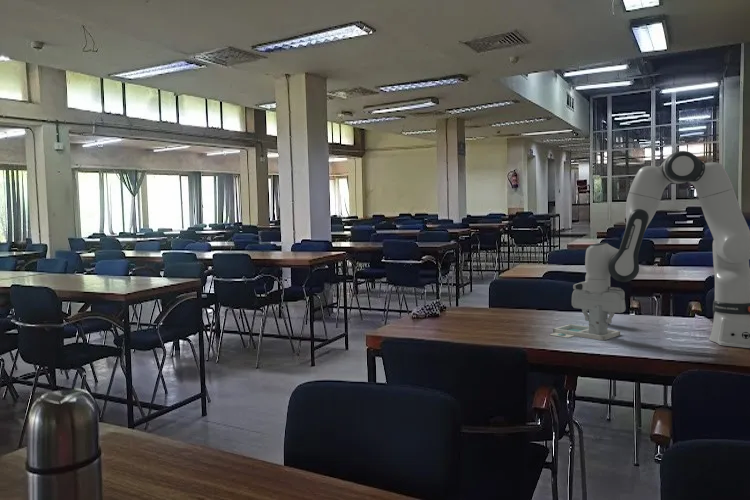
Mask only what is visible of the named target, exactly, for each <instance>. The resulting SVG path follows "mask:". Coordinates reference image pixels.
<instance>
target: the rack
mask: <svg viewBox="0 0 750 500" xmlns="http://www.w3.org/2000/svg"><path fill="white" fill-rule="evenodd" d="M549 336H553V337H559V338H567V339H570V338H573V337H578V338H585V339H591V340H592V339H593V340H599V341H606V340H609V339H612V338H615V337H618V336H621V330H617V329H616V330H614V329H608V328H607V334H605V335H596V334H589V326H586V325H580V324H572V323H570V324H566V325H561V326H558V327H554V328H552V333H550V334H549Z"/></svg>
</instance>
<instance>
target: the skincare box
mask: <svg viewBox="0 0 750 500" xmlns="http://www.w3.org/2000/svg"><path fill="white" fill-rule="evenodd" d="M588 315H589V321H588V327H589V334H596V335H605V334H607V329H608V325H609V324H607V323H606V319H607V318H608V317H609V315H608V312H606V311H602V305H594V310H588Z"/></svg>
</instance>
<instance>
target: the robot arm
mask: <svg viewBox="0 0 750 500" xmlns="http://www.w3.org/2000/svg"><path fill="white" fill-rule="evenodd" d="M685 183H689V184H691V185H692V186H693V187H694V189H695V191H696V193H697V197H698V201H699V204H700V206H701V210H702V213H703V216H704V220H705V221H706V224H707V226H708V228H709V230H710V233H711V236H712V238H713V240H712V262H713V263H712V265H713V274H714V299H713V302H712V316H713V322H712V329H711V332H710V335H709V338H708V340H709V341H711V342H714V343H717V345H720V346H725V347H734V348H744V349H750V227H749V226H748V225H749V224H748V223H747V221H746V218H745V216H744V215H743V212H742V210H741V206H740V204H739V201H738V199H737V198H738V197H737V195H736V192H735V189H734V185H733V182H732V181H731V179H730V176H729V175H728V172H727V171H726V169H725V168H724V166H723V165H722V164H721V163H719V162H717V161H716V162H714V161H713V162H706V163H705V162H703V161H702V160H701V159H700V158H699V157H698V156H696V154H693V153H692V152H689V151H688V150H687V151H686V150H679V151H676V152H674V153H671V154H670V155H668V156H667V157H666V158H665V159H664V161H662V163H660V165H658V166H656V165H655V166H653V165H646V166H645V165H644V166H643V167H641V168H640V169H639V170H638V171H637V172H636V174H635V176H634V179H633V180H632V183H631V185H630V188H629V191H628V194H627V198H626V202H625V203H626V204H625V219H626V225H625V230H624V234H623V237H622V240H621V243H620V246H619V249H618V248H616V247H614V246H612V245H610V244H609V243H607V242H598V243H597V242H596V243H593V244H590V245H589V246H588V247H587V248H586V250H585V255H584V256H585V257H584V258H585V259H584V262H585V263H584V266H585V267H584V269H585V271H586V274H585V276H584V277H585V280H584V281H580V282H578V283H574V284H573V285H572V288H573V291H572V294H571V306H572V307H573V309H581V312H582V314H583V316H584V320H585V322H589V310H594V305H602V311H606V312H608V318H607V319H606V323H607V324H608V325H611V324H612V319H613V318H614V316H615V314H621V313H624V312H625V311H626V309H627V308H626V300H625V299H626V298H625V297H626V296H625V295H626V294H625V291H624V289H622V288H621V287H618V286H617V287H614V286H611V277H612V278H613V279H614V280H615V281H617V282H621V283H627V282H630V281H632V280H634V279H636V277H637V276H638V274H639V272H640V262H639V252H640V249H641V245H642V242H643V239H644V235H645V232H646V230H647V228H648V226H649V225H650V223H651V222H652V219H653V218H654V216H655V214H656V212H657V210H658V208H659V205H660V203H661V200H662V196H663V194H664V191H665V189H666V187H667V186H668V185H680V184H685Z"/></svg>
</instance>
